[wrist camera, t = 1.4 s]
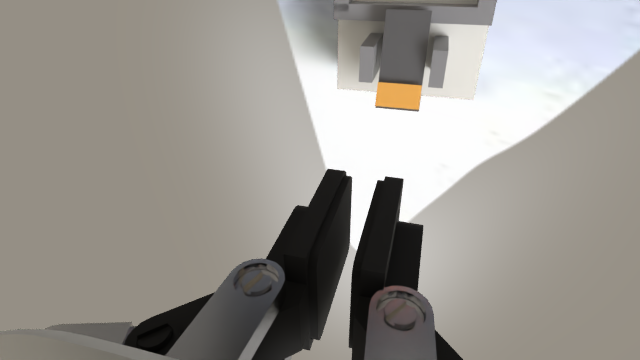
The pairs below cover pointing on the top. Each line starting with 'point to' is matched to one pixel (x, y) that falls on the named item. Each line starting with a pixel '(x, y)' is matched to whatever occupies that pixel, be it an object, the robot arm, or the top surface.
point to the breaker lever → (403, 59)
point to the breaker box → (442, 52)
